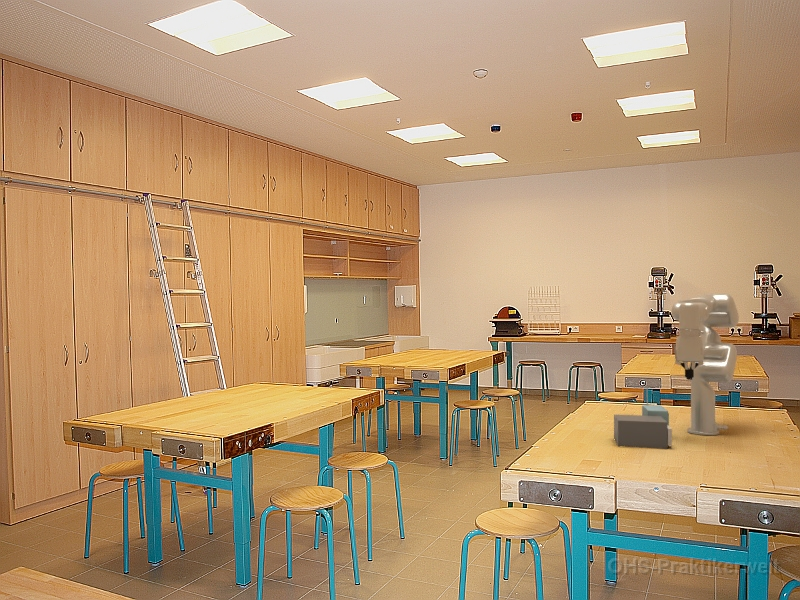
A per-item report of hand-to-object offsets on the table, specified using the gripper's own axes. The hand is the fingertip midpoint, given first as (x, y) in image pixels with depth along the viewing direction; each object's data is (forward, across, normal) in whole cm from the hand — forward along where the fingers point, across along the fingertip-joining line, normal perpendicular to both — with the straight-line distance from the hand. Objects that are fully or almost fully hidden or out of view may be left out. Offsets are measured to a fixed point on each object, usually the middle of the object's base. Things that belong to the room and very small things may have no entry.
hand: (689, 379), depth 270 cm
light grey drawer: (+24, +18, +8) cm, 31 cm away
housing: (+25, +20, +8) cm, 33 cm away
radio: (+25, +11, -10) cm, 29 cm away
